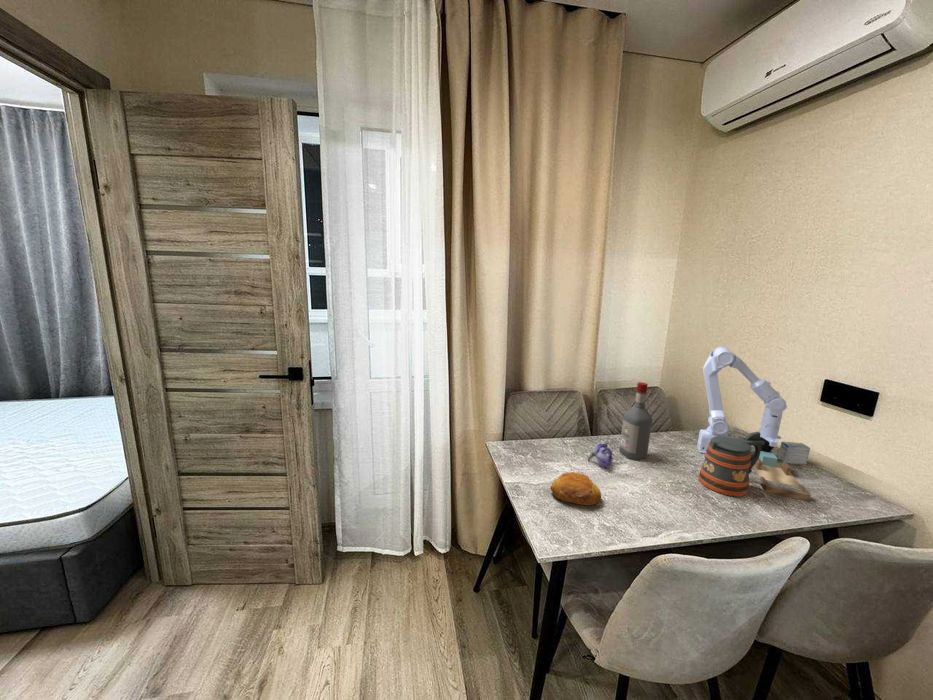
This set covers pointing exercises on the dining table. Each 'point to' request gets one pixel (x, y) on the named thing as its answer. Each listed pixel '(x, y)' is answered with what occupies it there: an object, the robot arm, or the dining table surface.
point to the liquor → (636, 427)
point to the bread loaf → (576, 489)
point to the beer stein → (730, 463)
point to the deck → (780, 480)
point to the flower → (602, 455)
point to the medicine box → (794, 453)
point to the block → (768, 459)
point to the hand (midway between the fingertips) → (763, 456)
